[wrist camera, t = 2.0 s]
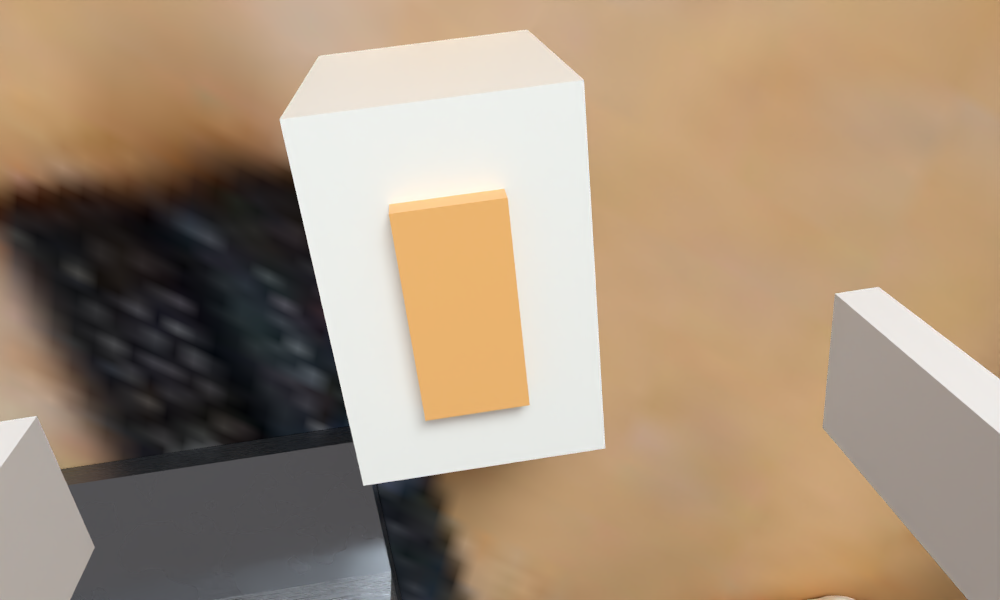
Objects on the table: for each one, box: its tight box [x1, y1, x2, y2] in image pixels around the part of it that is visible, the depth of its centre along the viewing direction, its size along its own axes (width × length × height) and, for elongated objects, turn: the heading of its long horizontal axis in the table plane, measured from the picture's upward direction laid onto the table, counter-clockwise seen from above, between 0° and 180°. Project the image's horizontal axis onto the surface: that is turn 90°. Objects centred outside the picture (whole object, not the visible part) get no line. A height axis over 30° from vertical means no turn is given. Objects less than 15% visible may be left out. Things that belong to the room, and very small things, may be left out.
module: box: [280, 30, 605, 486], centre depth 21 cm, size 6×9×9 cm, turn 6°
